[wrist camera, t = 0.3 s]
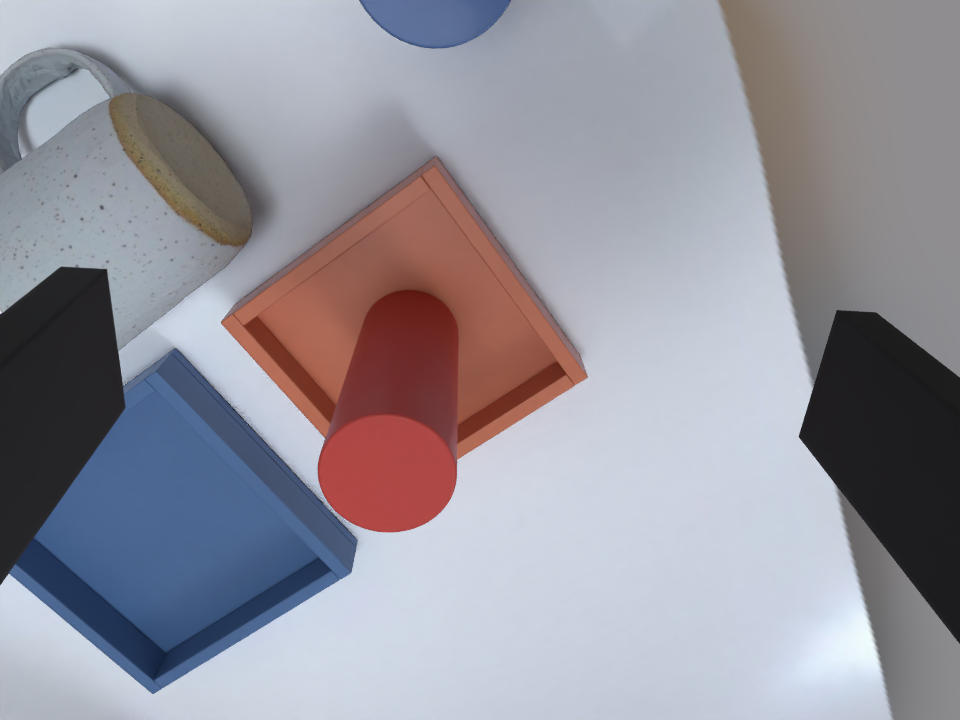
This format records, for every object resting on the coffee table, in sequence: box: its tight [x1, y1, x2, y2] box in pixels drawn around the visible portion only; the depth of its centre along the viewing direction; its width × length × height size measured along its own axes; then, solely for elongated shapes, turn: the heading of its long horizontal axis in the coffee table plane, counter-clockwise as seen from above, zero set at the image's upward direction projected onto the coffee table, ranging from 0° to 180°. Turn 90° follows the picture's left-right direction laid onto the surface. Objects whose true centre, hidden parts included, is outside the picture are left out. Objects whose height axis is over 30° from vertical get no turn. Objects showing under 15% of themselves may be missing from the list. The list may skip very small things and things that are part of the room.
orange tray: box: [221, 156, 588, 459], centre depth 35 cm, size 11×11×2 cm
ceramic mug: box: [0, 48, 252, 351], centre depth 30 cm, size 11×8×8 cm
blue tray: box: [9, 349, 357, 694], centre depth 39 cm, size 13×13×3 cm
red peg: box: [318, 290, 459, 532], centre depth 30 cm, size 4×4×12 cm
